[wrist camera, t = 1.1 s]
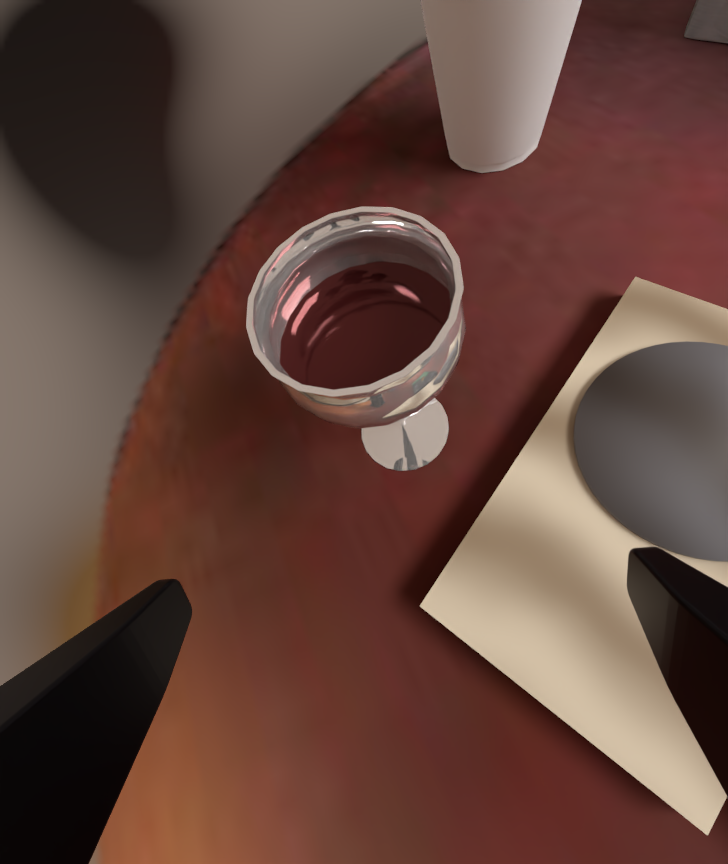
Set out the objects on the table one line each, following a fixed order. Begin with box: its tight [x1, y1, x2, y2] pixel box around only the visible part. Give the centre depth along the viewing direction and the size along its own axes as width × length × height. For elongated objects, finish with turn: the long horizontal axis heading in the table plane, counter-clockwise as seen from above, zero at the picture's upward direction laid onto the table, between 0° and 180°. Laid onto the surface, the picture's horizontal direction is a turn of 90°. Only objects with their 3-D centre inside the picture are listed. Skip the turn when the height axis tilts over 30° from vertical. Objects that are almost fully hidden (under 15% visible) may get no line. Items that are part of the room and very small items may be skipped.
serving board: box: [420, 277, 728, 835], centre depth 18 cm, size 20×12×2 cm, turn 143°
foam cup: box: [421, 0, 582, 173], centre depth 23 cm, size 10×9×13 cm
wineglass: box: [246, 207, 466, 471], centre depth 18 cm, size 7×7×12 cm
